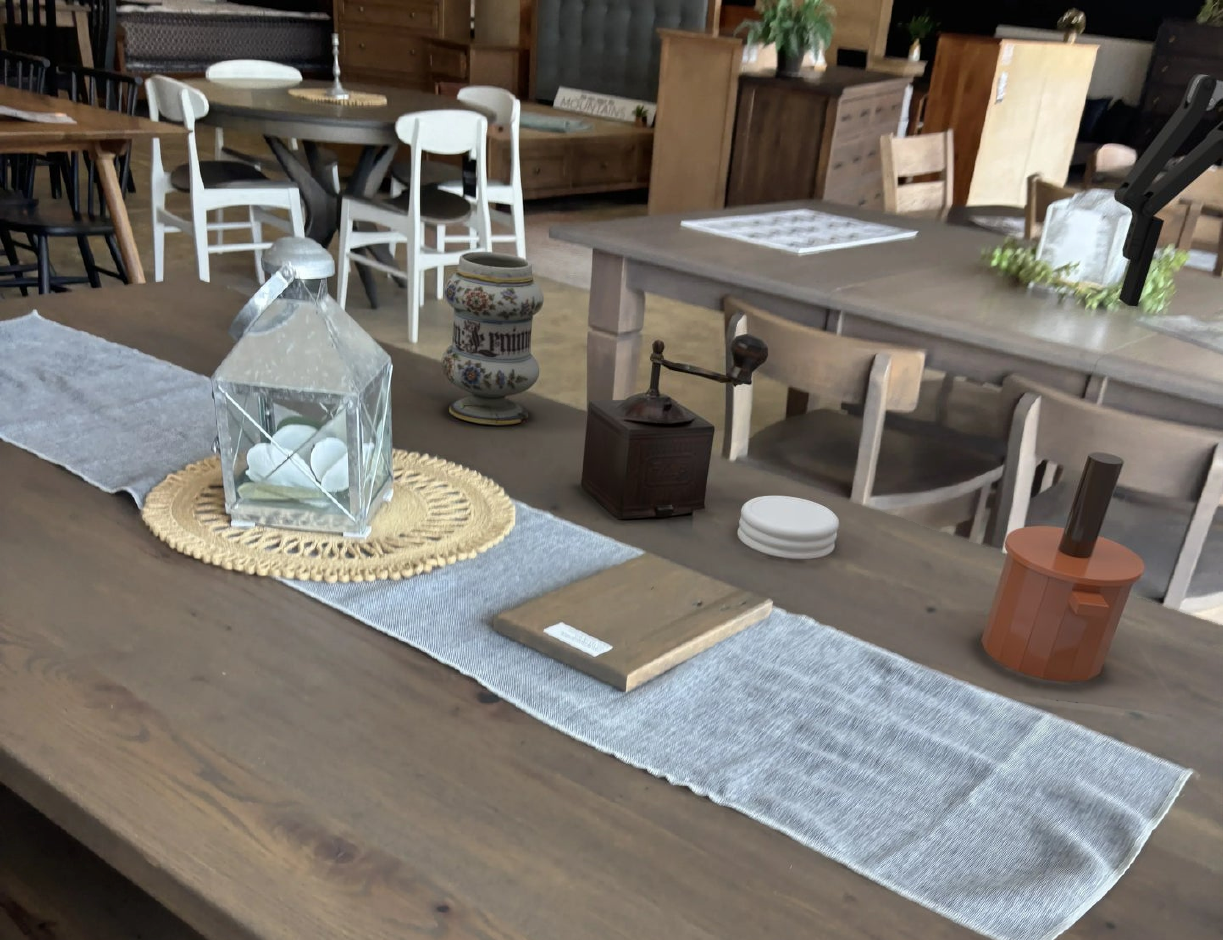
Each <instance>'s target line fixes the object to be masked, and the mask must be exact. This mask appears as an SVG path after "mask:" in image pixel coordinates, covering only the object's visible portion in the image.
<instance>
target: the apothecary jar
mask: <svg viewBox="0 0 1223 940" xmlns="http://www.w3.org/2000/svg"><path fill="white" fill-rule="evenodd" d="M443 294H444V295H443V296H444V299H445V300H446V302H447V303H448V305H449V306H450V307H452V309H453V322H452V323H453V327H452V341H451V345H449V347H447V348H446V350H444V352H443V354H442V356H441V359H440V366H441V367H440V368H441V370H442V373H443V374H444V376H445V378H447V380H448V381H449V382H450V383H451V384H453V385H454V386H455V387H457V388H459V389H461V390H462V391H464V392H467V393H469V394H471V395H469V396H466V397H465V396H464V397H462V398H461V399H457V400H455V401H453V402H452V403H451V404H450V406H449V407H448V411H449V413H450V415H451V416H453V417H454V418H456V419H458V420H462V421H464V422H466V423H471V424H478V425H484V426H512V425H517V424H520V423H522V420H527V419H528V417H529V413H528V411H527V410H526V409H525V408H524V407H523V406H521V405H519V404H517V403H516V402H515V401H513V400H511V399H509V398H506V397H508V396H509V397H510V396H514V395H517V394H521V393H524V392H526V391H528V390H530V388H532V387H533V386H534V385H535V384H536V383H537V381H538V379H539V377H540V366H539V363H538V361H537V359H536V358H535V356H534V355H533V354H532V353H531V352H532V351H531V350H532V328H533V320H534V316H535V315H536V314H538V312H540V311H541V309H542V308H543V305H544V301H545V297H544V293H543V291H542V288H541V287H540V286H539V284H538V283H537V282H536V281H535V280H534V276H533V265H532V262H531V261H530V260H528V259H526V258H524V257H521V256H517V255H513V254H508V253H502V252H495V251H494V252H492V251H470V252H465V253H462V254H461V255H459V259H458V266H457V268H456V272H455V273H454V274H453V275H451V276H450V277H449V278H448V279H447V280H446V282H445V284H444V288H443Z"/></svg>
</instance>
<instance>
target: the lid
mask: <svg viewBox="0 0 1223 940" xmlns="http://www.w3.org/2000/svg"><path fill="white" fill-rule="evenodd" d="M1124 464H1125V460H1124V459H1123V458H1121V457H1119V456H1117V455H1115V454H1111V453H1107V452H1099V451H1098V452H1095V451H1094V452H1089V453H1088V454H1087V457H1086V461H1085V464H1084V467H1083V469H1082V472H1081V476H1080V479H1079V482H1078V485H1077V488H1076V492H1075V494H1074V498H1073V500H1072V503H1071V507H1070V510H1069V513H1068V516H1067V519H1066V522H1065V525H1064V527H1059V526H1050V525H1034V526H1033V525H1032V526H1024V527H1020V528H1016V529H1014V530H1011V531H1010V532H1008V534H1007V535H1006V538H1005V541H1004V548H1005V551H1006V553H1008V554H1009V555H1010V556H1011V557H1012V558H1013V559H1015V560H1016V561H1017V562H1019V563H1021V564H1022V565H1024V566H1026V567H1028V568H1030V569H1032V570H1034V571H1036V572H1039V573H1041V574H1044V575H1047V576H1050V577H1053V578H1056V579H1060V580H1064V581H1068V582H1072V583H1078V584H1084V585H1091V586H1106V587H1110V586H1124V585H1129V584H1132V583H1133V584H1134V583H1136V582H1138V581H1140V580H1141V579H1142V577H1143V576H1144V573H1145V569H1146V565H1145V563H1144V561H1143V559H1142V558H1141V557H1140V556H1139V555H1138V554H1137V553H1135V552H1134V551H1133V550H1131V549H1130V548H1128V547H1126V546H1124V545H1122V544H1121V543H1118V542H1116V541H1114V540H1111V539H1109V538H1106V537H1103V536H1100V533H1101V530H1102V528H1103V525H1104V522H1105V519H1106V516H1107V514H1108V510H1109V508H1110V505H1111V501H1112V499H1113V496H1114V493H1115V490H1116V487H1117V485H1118V482H1119V478H1120V475H1121V472H1122V471H1123V466H1124Z"/></svg>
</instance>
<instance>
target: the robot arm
mask: <svg viewBox="0 0 1223 940" xmlns="http://www.w3.org/2000/svg"><path fill="white" fill-rule="evenodd" d="M1220 100H1223V80H1220V79H1219V80H1218V79H1217V78H1216V77H1215V76H1214V75H1209V74H1208V75H1207V74H1202V73H1201V74H1200V73H1198V74H1195V75H1193V77H1192V78H1191V79H1190V80H1189V82H1188V85H1187V87H1186V90H1185V92H1184V95H1183V98H1182V100H1181V102H1180V104H1179V107H1177V109H1176V110H1175V112H1174V113H1173V115H1171V117H1170V118H1169V120H1168V121H1167V122H1166V123H1165V125H1164V126H1163V128H1162V129H1161V130H1160V131H1159V133H1158V134H1157V135H1156V136H1155V138H1154V139H1153V140H1152V142H1151V143H1150V145H1149V146H1148V147H1147V148H1146V150H1145V151H1144V152H1143V153H1142V155H1141V156H1140V158H1139V159H1138V161H1136V163H1135V164H1134V165H1133V166H1132V168H1131V170H1129V172H1128V174H1127V175H1126V176H1125V177H1124V179H1123V180H1122V181H1121V183H1120V184H1119V185H1118V186H1117V188H1116V189H1115V191H1114V193H1113V198H1114V200H1115V202H1117V203H1119V204H1121V205H1122V206H1123V207H1126V208H1127V209H1129V211H1130V212H1131V218H1130V222H1129V225H1128V229H1127V233H1126V236H1125V238H1124V243H1123V246H1122V257H1123V258H1125V259H1127V260H1129V264H1128V267H1127V270H1126V273H1125V277H1124V281H1123V284H1122V286H1121V291H1120V294H1119V296H1118V300H1119V301H1121V302H1122V303H1124V304H1125V305H1126V306H1129V307H1139V303H1140V300H1141V298H1142V294H1143V292H1144V291H1143V290H1144V287H1145V284H1146V281H1147V279H1148V278H1147V277H1148V274H1149V271H1150V268H1151V265H1152V262H1153V260H1154V259H1153V258H1154V256H1155V255H1154V254H1155V252H1156V248H1157V245H1158V242H1159V239H1160V236H1161V232H1162V230H1163V226H1164V223H1165V220H1164V219H1162V218H1160V217H1158V216H1155V215H1157V214H1158V213H1159V212H1160V211H1161V210H1162V209H1164V208H1165V207H1166V206H1167V205H1168V204H1169V203H1171V201H1173V200H1175V198H1176V197H1177V196H1179V195H1180V194H1181V193H1182V192H1183V191H1184V190H1185V189H1187V188H1188V187H1189V186H1190V185H1192V184H1193V182H1195V181H1196V180H1197V179H1198V178H1199V177H1200V176H1201V175H1202V174H1204V173H1205V172H1206V171H1208V169H1210V168H1211V167H1212V166H1213V165H1214V164H1215V163H1216V162H1218V161H1219V160H1220V159H1221V158H1222V157H1223V120H1222V121H1221V122H1220V123H1218V124H1217V125H1216V126H1215V127H1214V128H1213V129H1212V130H1211V131H1209V133H1207V135H1206V137H1205V139H1203V140H1202V141H1201V142H1200V143H1199V144H1198V145H1196V146H1195V147H1194V148H1193V149H1192V150H1191V151H1190V152H1188V154H1186V155H1185V156H1184V157H1183V158H1182V159H1180V160H1179V162H1177V163H1176V164H1175V165H1173V167H1172V168H1170V169H1169V170H1168V171H1167V172H1166V173H1165V174H1163V175H1162V176H1161V177H1160V178H1159V179H1158V180H1157V181H1156V182H1155V183H1153V182H1154V181H1155V180H1156V178H1157V177H1158V176H1159V174H1160V173H1161V172H1162V170H1164V168H1165V166H1166V165H1167V164H1168V162H1169V161H1170V160H1171V159H1172V158H1173V156H1174V155H1175V154H1176V153H1177V151H1178V150H1179V148H1180V147H1181V146H1182V145H1183V144H1184V143H1185V141H1186V140H1187V138H1188V137H1189V136H1190V135H1191V133H1192V132H1193V130H1194V129H1195V128H1196V127H1197V125H1198V124H1199V122H1200V121H1201V120H1202V119H1203V117H1204V115H1205V113H1206V112H1208V111H1211V110H1213V109H1214V108H1215V107H1216V104H1217V103H1218V102H1220ZM1152 183H1153V184H1152ZM1151 184H1152V185H1151Z"/></svg>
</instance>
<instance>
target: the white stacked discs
mask: <svg viewBox="0 0 1223 940" xmlns="http://www.w3.org/2000/svg"><path fill="white" fill-rule="evenodd" d="M740 515H741V516H740V518H739V520H738V523H739V527H738V529H737V537H738V539H739V540H740V541H741V542H742V543H743V544H745V545H746V546H748V547H749V548H751V549H753V550H755V551H758V552H761V553H762V554H767V555H771V556H773V557H779V558H785V559H792V560H811V559H818V558H823V557H826V556H828V555H829V554H831V553H832V552H833V551H834V549H835V547H836V545H835V543H836V540H837V537H838V533H837V531H838V530H839V527H840V521H839V518H838V516H837V515H836V514H835V512H834V511H832V510H831V509H830V508H828V507H826V506H824V505H822V504H820V503H818V502H815V501H811V500H808V499H804V498H801V497H800V498H799V497H795V496H789V495H788V496H787V495H762V496H757V497H754V498H751V499H749V500H747V501H746V502H745V503H744V504H743V505H742V507H741V509H740Z"/></svg>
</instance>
